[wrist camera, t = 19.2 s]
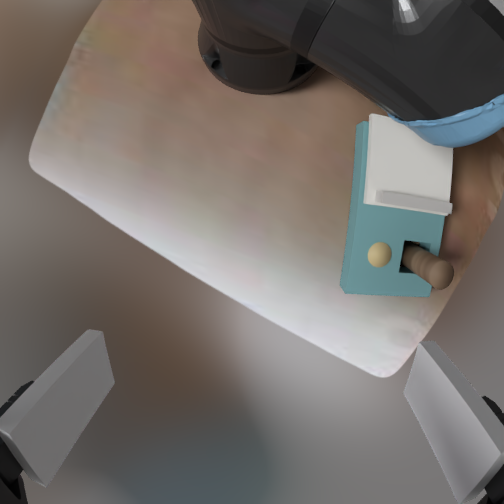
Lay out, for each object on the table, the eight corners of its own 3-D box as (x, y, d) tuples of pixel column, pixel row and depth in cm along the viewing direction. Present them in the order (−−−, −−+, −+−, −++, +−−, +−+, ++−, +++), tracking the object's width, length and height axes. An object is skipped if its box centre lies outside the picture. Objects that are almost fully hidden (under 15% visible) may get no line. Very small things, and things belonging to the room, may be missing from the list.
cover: (369, 115, 29) (379, 109, 26) (449, 134, 29) (463, 132, 26) (363, 203, 32) (372, 205, 29) (443, 214, 32) (457, 218, 28)
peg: (393, 263, 37) (428, 289, 27) (396, 240, 36) (433, 261, 26) (413, 264, 37) (450, 289, 27) (416, 241, 36) (456, 262, 26)
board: (356, 125, 33) (364, 120, 30) (438, 143, 33) (451, 141, 30) (339, 284, 38) (345, 293, 35) (419, 289, 37) (429, 297, 34)
